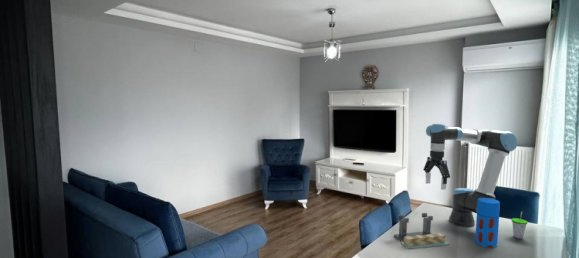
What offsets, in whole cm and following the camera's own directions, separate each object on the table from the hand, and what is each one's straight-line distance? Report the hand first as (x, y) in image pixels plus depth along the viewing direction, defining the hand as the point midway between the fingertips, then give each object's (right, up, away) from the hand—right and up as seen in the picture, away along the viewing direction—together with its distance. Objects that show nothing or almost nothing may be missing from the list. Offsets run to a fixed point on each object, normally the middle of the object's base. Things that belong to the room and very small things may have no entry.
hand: (435, 186), depth 187 cm
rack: (-11, -31, +2) cm, 33 cm away
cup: (+51, -31, +3) cm, 60 cm away
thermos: (+26, -32, -6) cm, 42 cm away
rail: (-9, -31, -7) cm, 33 cm away
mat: (-9, -31, -7) cm, 33 cm away
